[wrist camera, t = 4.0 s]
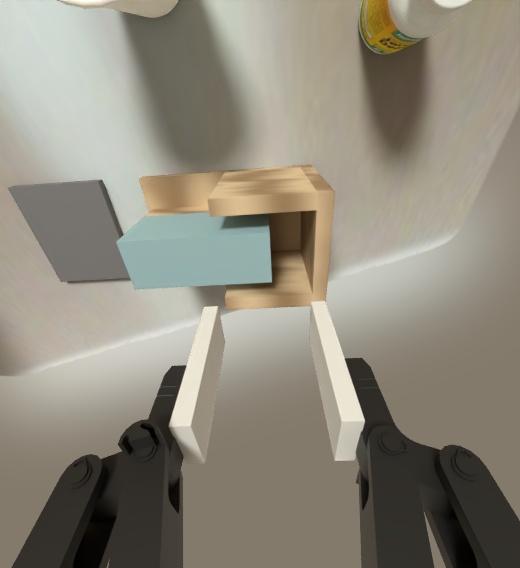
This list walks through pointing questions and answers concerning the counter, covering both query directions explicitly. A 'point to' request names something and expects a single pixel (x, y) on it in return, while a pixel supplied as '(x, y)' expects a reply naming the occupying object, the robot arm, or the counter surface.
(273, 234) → the cradle
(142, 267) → the bar
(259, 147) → the counter surface
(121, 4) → the cup
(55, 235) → the mat
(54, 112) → the counter surface
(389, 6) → the supplement bottle
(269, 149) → the counter surface
